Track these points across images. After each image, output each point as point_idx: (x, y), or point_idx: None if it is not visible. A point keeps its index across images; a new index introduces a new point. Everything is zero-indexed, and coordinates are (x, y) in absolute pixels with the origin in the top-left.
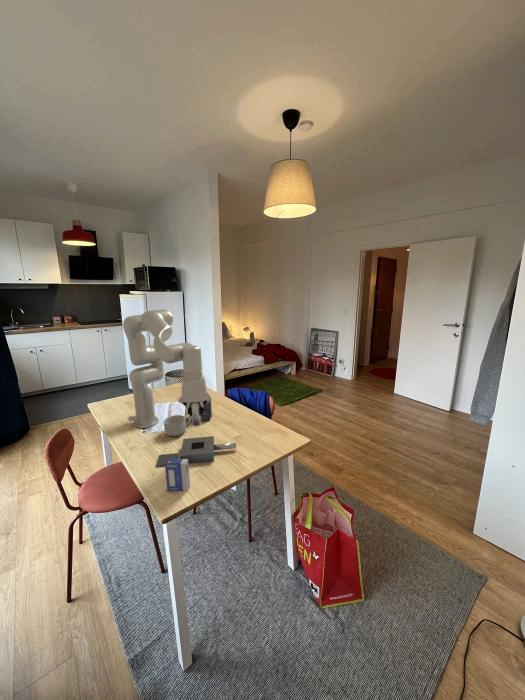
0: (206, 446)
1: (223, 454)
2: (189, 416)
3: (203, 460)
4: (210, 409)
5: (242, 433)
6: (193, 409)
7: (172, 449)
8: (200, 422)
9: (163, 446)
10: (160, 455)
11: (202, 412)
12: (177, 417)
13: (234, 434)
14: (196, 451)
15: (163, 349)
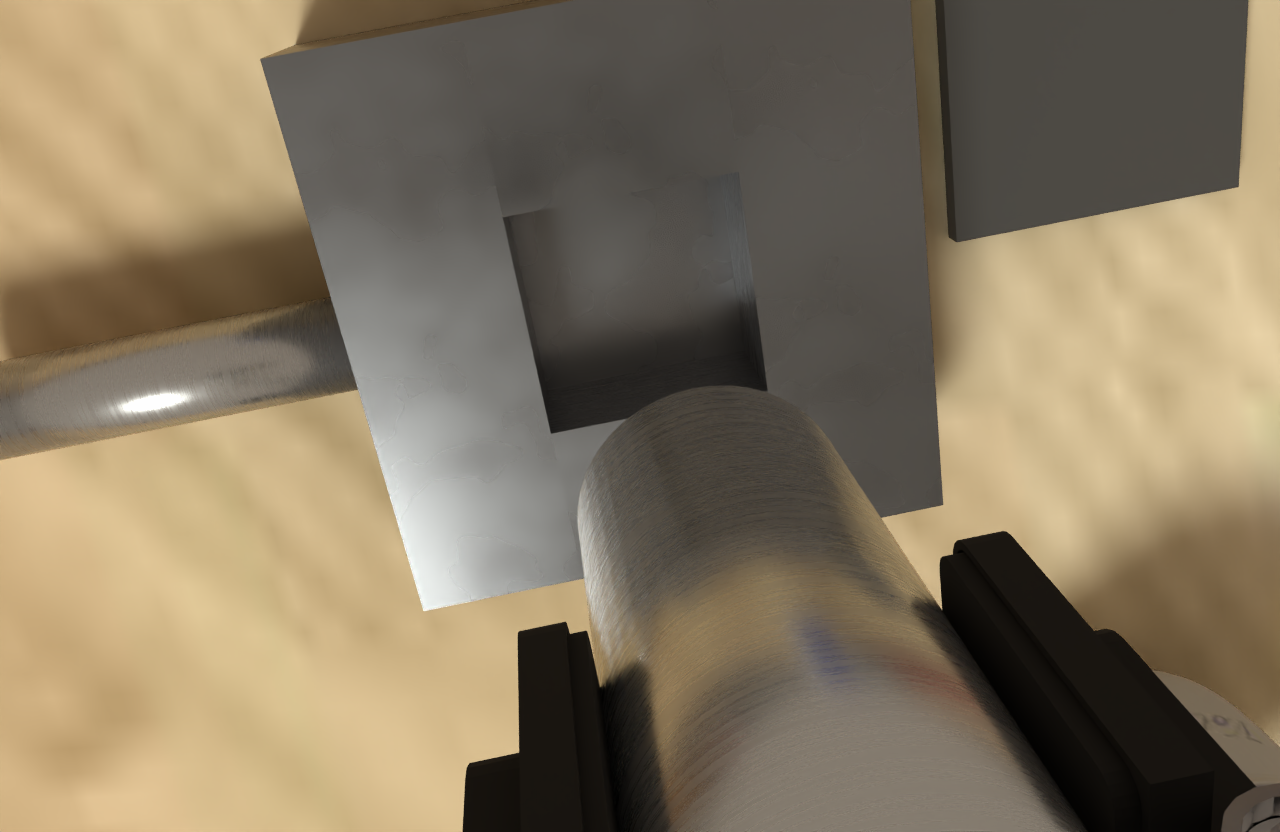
0: (468, 280)
1: (185, 248)
2: (1007, 535)
3: (473, 13)
4: None
5: (47, 822)
6: (942, 750)
7: (1055, 362)
8: (587, 510)
9: (1199, 433)
10: (1219, 168)
11: (512, 768)
12: None
13: (172, 789)
14: (620, 107)
15: None
